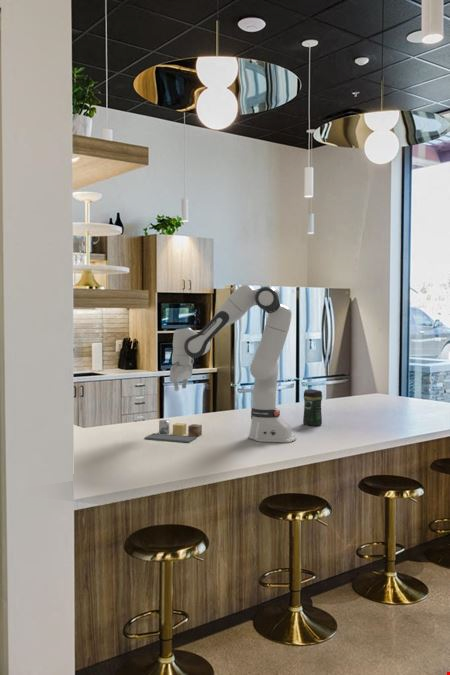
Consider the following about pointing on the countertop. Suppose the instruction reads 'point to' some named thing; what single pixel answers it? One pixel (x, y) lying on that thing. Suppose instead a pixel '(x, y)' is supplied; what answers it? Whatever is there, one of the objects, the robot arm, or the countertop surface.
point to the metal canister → (164, 426)
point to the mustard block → (179, 429)
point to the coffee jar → (312, 407)
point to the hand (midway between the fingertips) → (180, 389)
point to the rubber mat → (171, 438)
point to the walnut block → (194, 430)
